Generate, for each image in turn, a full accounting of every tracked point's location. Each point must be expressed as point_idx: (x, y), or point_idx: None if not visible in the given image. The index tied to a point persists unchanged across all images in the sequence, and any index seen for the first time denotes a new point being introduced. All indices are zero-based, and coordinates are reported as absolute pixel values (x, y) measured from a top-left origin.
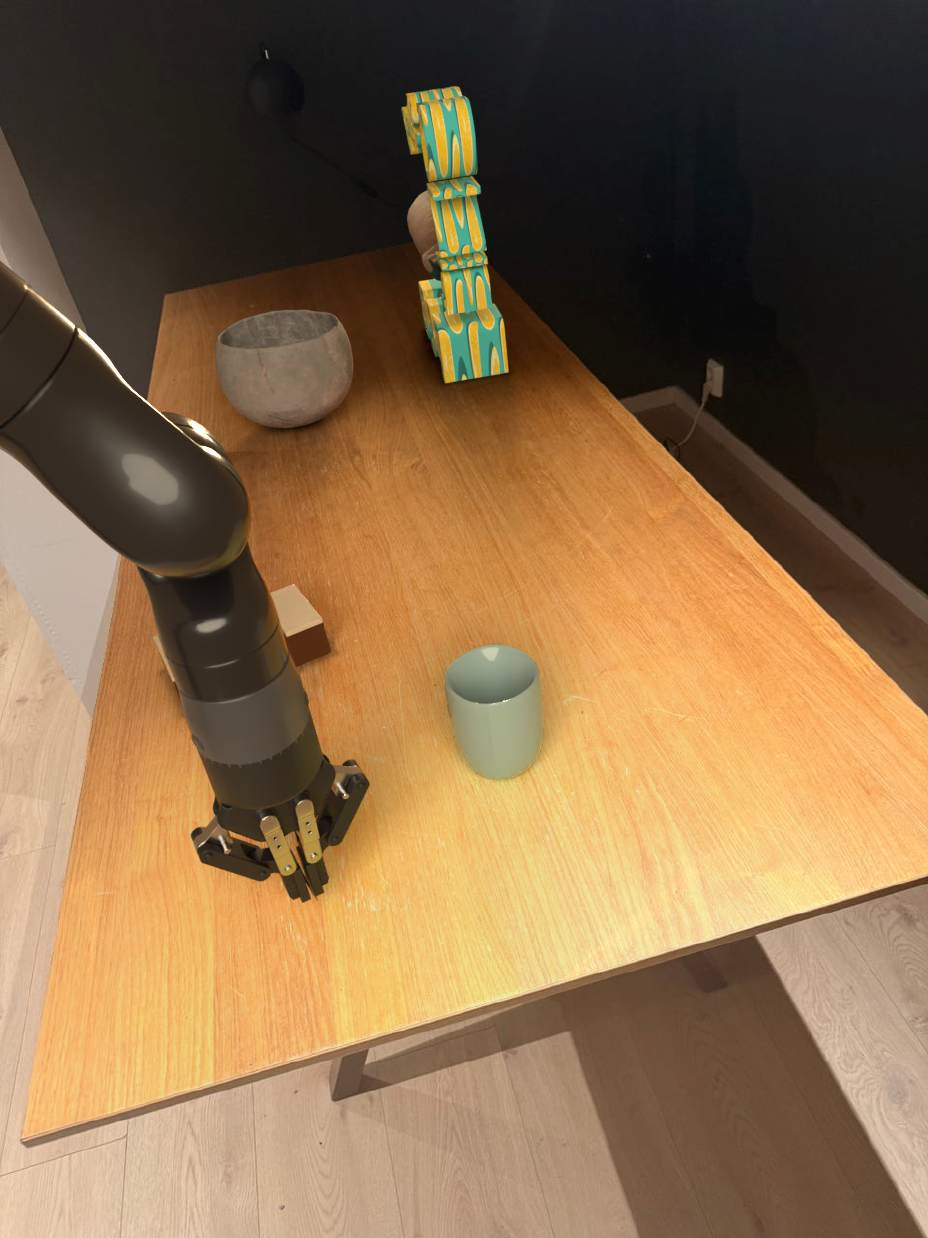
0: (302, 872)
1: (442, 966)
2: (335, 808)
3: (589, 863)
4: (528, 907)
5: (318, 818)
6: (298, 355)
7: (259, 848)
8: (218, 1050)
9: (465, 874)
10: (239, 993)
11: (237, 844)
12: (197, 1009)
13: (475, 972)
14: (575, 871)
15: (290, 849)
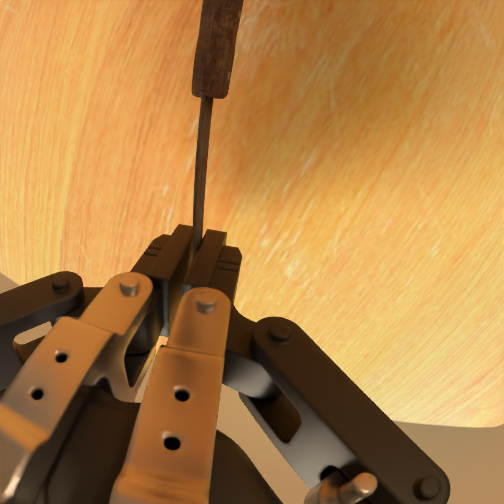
0: (193, 255)
1: None
2: (295, 448)
3: (467, 362)
4: (403, 369)
5: (259, 352)
6: None
7: (73, 304)
8: None
9: (408, 308)
10: (85, 255)
11: (5, 348)
12: (46, 240)
13: None
14: (456, 362)
15: (197, 187)
